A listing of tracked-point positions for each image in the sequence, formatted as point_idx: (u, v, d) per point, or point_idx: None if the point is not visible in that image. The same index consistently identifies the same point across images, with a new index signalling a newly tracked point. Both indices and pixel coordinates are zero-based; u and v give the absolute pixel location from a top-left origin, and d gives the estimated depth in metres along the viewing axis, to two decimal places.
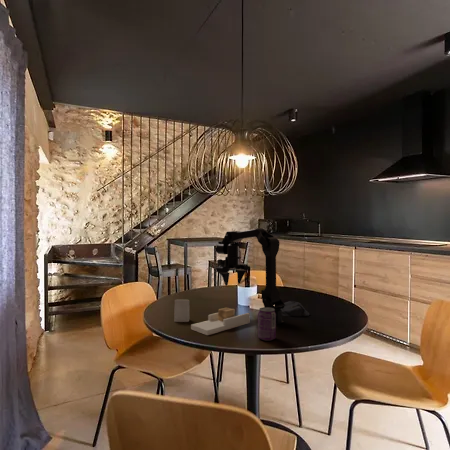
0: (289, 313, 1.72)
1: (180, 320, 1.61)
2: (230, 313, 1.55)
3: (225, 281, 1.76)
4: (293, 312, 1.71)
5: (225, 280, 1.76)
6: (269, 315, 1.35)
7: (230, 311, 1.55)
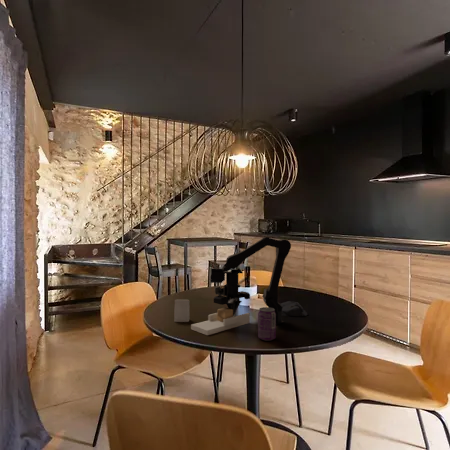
0: (287, 313, 1.72)
1: (180, 320, 1.61)
2: (229, 313, 1.55)
3: None
4: (291, 312, 1.72)
5: None
6: (269, 315, 1.35)
7: (229, 311, 1.55)
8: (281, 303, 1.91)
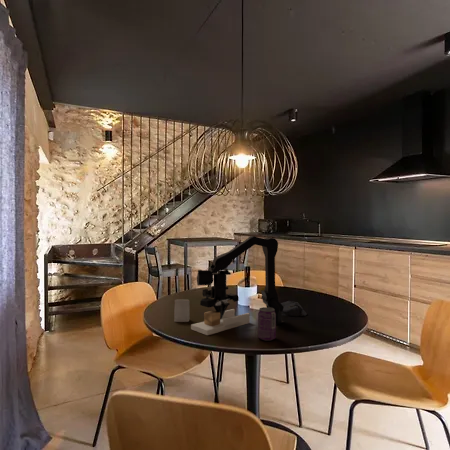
0: (286, 313, 1.72)
1: (180, 320, 1.61)
2: (216, 316, 1.49)
3: None
4: (290, 312, 1.72)
5: None
6: (269, 315, 1.35)
7: (216, 314, 1.50)
8: (281, 303, 1.91)
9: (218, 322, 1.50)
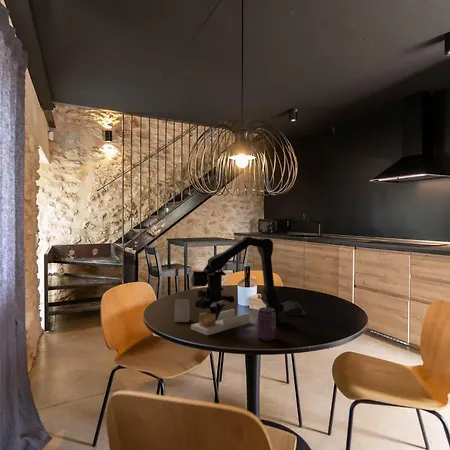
0: (286, 313, 1.73)
1: (180, 320, 1.61)
2: (211, 317, 1.47)
3: None
4: (290, 312, 1.72)
5: None
6: (269, 315, 1.35)
7: (211, 316, 1.48)
8: None
9: (213, 323, 1.48)
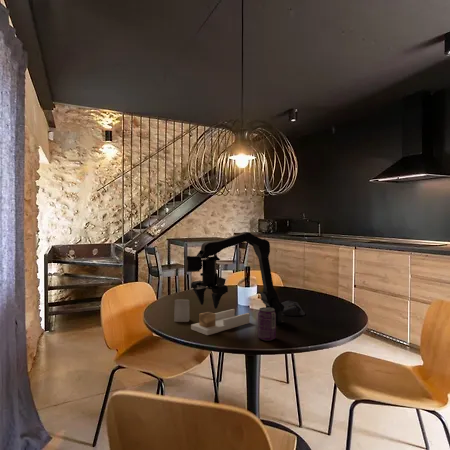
0: (284, 312, 1.73)
1: (180, 320, 1.61)
2: (211, 317, 1.47)
3: None
4: (288, 311, 1.72)
5: None
6: (269, 315, 1.35)
7: (211, 316, 1.48)
8: None
9: (213, 323, 1.48)
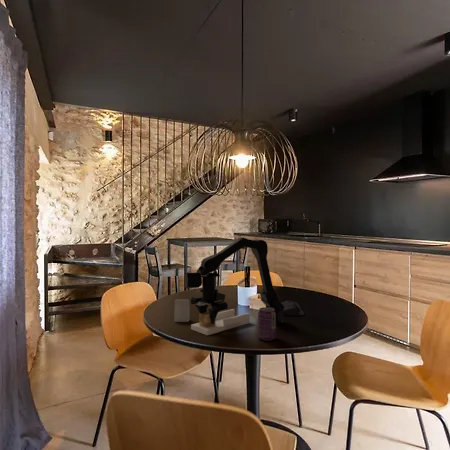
0: (283, 312, 1.73)
1: (180, 320, 1.61)
2: None
3: None
4: (287, 311, 1.72)
5: None
6: (269, 315, 1.35)
7: None
8: None
9: None
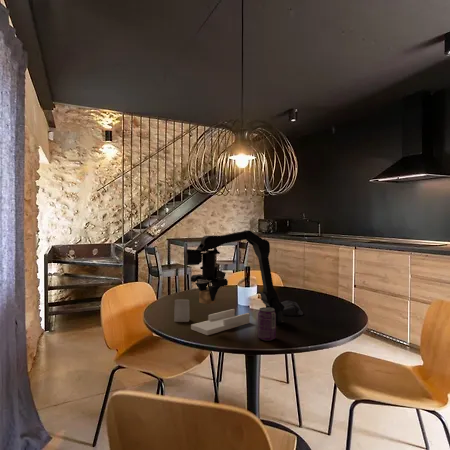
0: (282, 312, 1.73)
1: (180, 320, 1.61)
2: None
3: None
4: (286, 311, 1.73)
5: None
6: (269, 315, 1.35)
7: None
8: None
9: (213, 301, 1.48)
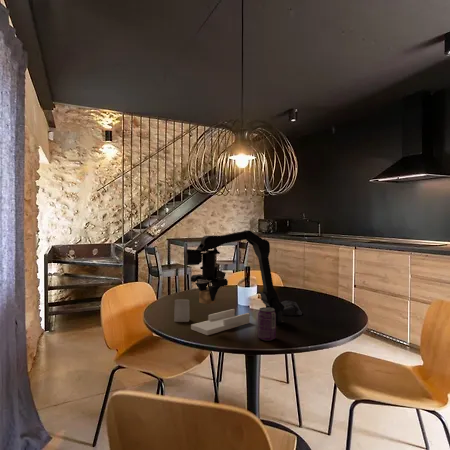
0: None
1: (180, 320, 1.61)
2: None
3: None
4: (285, 311, 1.73)
5: None
6: (269, 315, 1.35)
7: None
8: None
9: (213, 301, 1.48)
